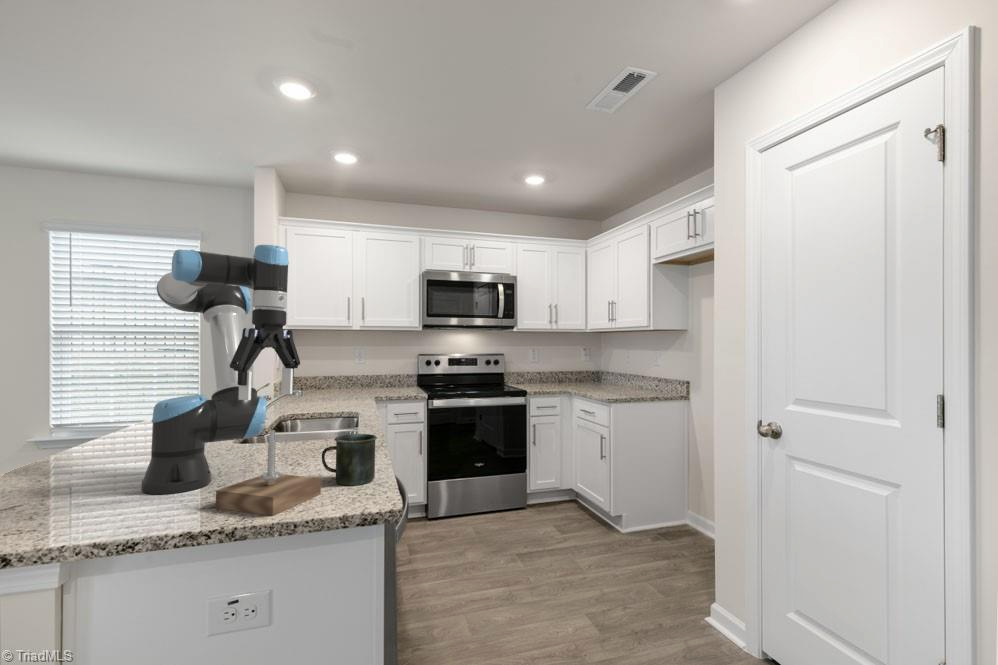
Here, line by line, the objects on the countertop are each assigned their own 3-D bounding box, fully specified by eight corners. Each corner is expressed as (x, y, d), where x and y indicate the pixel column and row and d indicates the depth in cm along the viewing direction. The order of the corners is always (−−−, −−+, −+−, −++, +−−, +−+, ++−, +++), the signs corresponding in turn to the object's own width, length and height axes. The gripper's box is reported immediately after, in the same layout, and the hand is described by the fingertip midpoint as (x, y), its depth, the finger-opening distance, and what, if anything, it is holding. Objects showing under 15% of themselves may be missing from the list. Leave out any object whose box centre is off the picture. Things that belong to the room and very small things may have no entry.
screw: (258, 483, 113) (280, 480, 115) (260, 488, 109) (283, 484, 111) (259, 428, 113) (281, 427, 116) (262, 432, 109) (284, 430, 112)
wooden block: (215, 508, 107) (216, 490, 107) (268, 488, 122) (269, 472, 122) (272, 515, 102) (273, 497, 102) (320, 494, 117) (320, 478, 117)
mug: (379, 483, 127) (380, 439, 127) (322, 490, 121) (323, 443, 121) (372, 473, 137) (373, 432, 137) (319, 479, 130) (320, 436, 131)
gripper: (241, 305, 101) (237, 403, 100) (316, 312, 125) (313, 392, 124) (213, 305, 103) (210, 401, 102) (292, 312, 127) (289, 391, 126)
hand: (266, 396), depth 113 cm, fingers open, 13 cm apart
